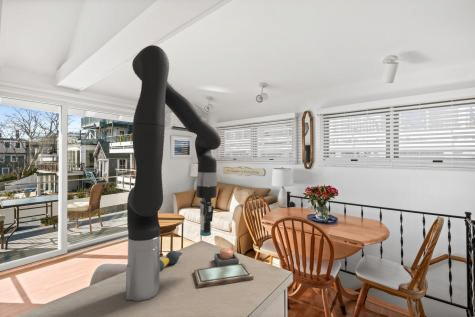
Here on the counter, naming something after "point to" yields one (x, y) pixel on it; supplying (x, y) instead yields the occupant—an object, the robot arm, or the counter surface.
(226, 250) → the button
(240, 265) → the framed mirror
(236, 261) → the button housing
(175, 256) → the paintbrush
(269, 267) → the counter surface
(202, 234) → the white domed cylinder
